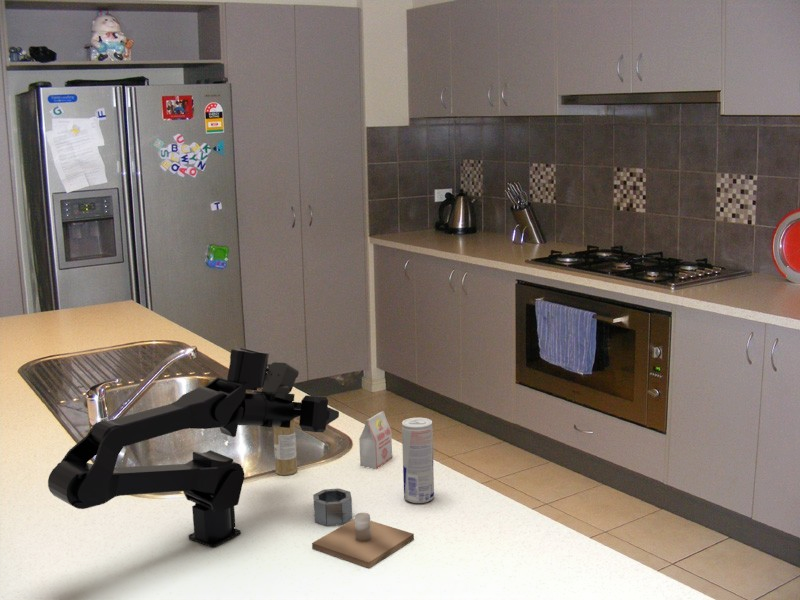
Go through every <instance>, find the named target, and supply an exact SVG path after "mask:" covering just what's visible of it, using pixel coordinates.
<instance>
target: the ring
mask: <svg viewBox="0 0 800 600" xmlns="http://www.w3.org/2000/svg"><path fill="white" fill-rule="evenodd" d="M312 495H313V514H314V515H313V516H314V517H315V518H314V522H315V523H316V524H319V525H322V526H324V527H330V526H333V525H334V526H343V525H345V524H347V523H348V522H350V521H352V520H353V503H352V502H353V501H352V494H351V491H349V490H346V489H342V488H337V487H336V488H327V489H321V490H320V491H317V492H316V493H314V494H312ZM351 519H352V520H351ZM344 523H345V524H344ZM342 524H343V525H342Z"/></svg>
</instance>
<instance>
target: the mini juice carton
mask: <svg viewBox="0 0 800 600" xmlns="http://www.w3.org/2000/svg"><path fill="white" fill-rule="evenodd" d="M392 437H393V436H392V429H391V427H390V425H389V422H388V420H387V417H386V415H385V411H383V410H382V411H380V412H378V413H377V414H375V415H373V416H372V417H370V418H367V419H366V420H365V424H364V427H363V430H362V432H361V433H360V436H359V439H358V441H359V462H360V463H359V464H360V465H359V466H364V467H363V468H366V467H369V468H368V469H371V468H373V469H372V470H377V469H379V468H381V467H382V466H383V465H385V464H386V463H387V462H389V461H390V460H392V459H393V441H392ZM384 463H385V464H384ZM381 465H382V466H381ZM378 467H379V468H378Z"/></svg>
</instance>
